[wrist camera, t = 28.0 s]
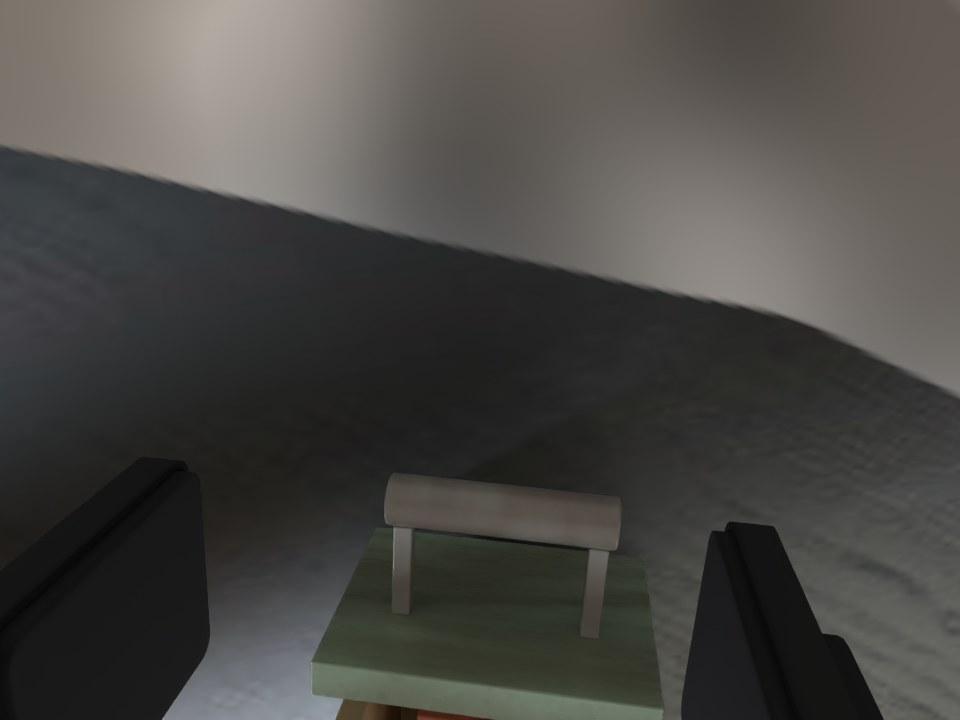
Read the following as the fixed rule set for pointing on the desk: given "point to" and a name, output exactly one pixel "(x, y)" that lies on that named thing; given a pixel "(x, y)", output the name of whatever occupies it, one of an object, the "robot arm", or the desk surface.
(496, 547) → the drawer
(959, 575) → the desk surface
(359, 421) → the desk surface
